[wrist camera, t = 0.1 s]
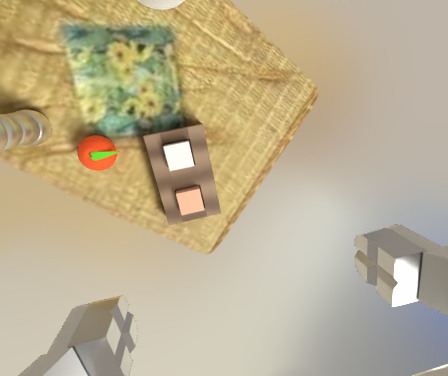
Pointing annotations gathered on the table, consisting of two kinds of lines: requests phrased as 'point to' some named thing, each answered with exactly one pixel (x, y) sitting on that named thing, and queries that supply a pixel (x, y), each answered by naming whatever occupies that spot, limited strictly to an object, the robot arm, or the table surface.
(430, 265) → the robot arm
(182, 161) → the key ivory
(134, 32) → the table surface
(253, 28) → the table surface
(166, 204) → the key console
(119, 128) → the table surface
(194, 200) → the key terracotta
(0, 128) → the plastic bottle
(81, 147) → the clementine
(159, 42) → the table surface
